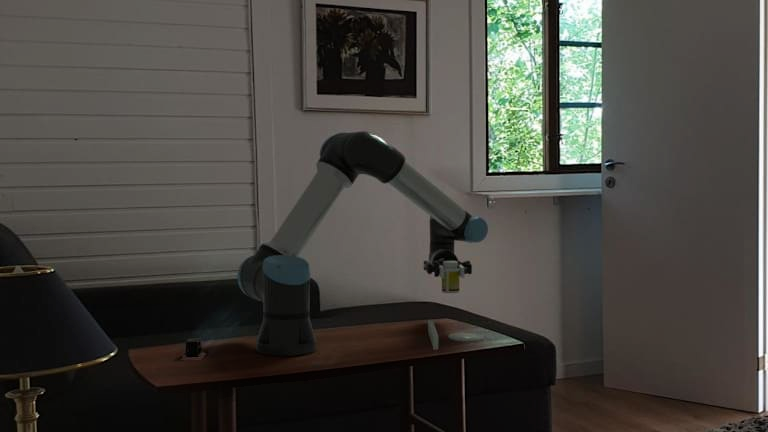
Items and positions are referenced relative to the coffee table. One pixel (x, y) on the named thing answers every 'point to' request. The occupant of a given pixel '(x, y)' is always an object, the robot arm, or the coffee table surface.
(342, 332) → the coffee table surface
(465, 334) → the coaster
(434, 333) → the low wall
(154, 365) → the coffee table surface
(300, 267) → the robot arm
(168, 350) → the coffee table surface
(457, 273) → the supplement bottle
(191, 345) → the black block
